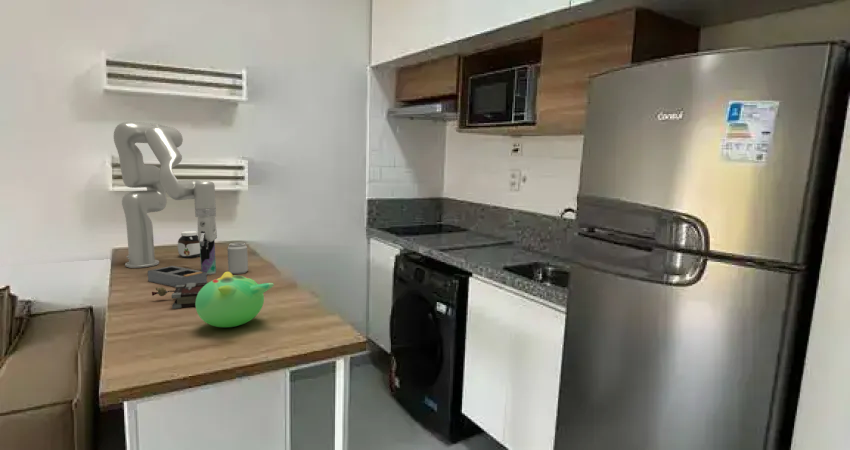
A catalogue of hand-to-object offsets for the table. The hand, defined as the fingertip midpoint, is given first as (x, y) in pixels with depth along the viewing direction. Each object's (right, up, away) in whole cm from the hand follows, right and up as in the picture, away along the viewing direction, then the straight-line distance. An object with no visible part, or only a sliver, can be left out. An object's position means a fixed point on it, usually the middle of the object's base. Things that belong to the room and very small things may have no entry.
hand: (207, 256), depth 197 cm
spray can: (0, -7, +1) cm, 7 cm away
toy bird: (+33, -16, -59) cm, 69 cm away
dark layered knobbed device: (+12, -13, -36) cm, 40 cm away
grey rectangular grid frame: (-6, -9, -13) cm, 17 cm away
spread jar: (-21, -2, +34) cm, 40 cm away
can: (+11, -7, +3) cm, 13 cm away
